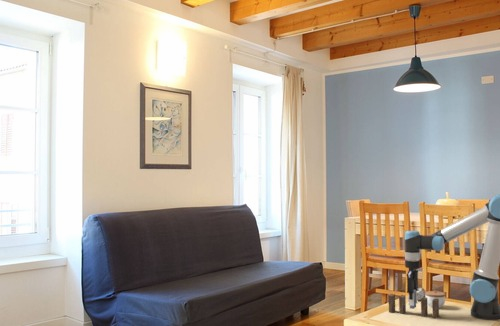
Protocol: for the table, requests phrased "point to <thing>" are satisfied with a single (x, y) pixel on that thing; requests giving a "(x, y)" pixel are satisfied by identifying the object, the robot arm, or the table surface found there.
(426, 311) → the domino
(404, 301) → the domino
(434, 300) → the domino
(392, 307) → the domino
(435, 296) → the lidded jar
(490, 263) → the robot arm
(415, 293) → the domino
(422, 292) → the game die
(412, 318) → the table surface
